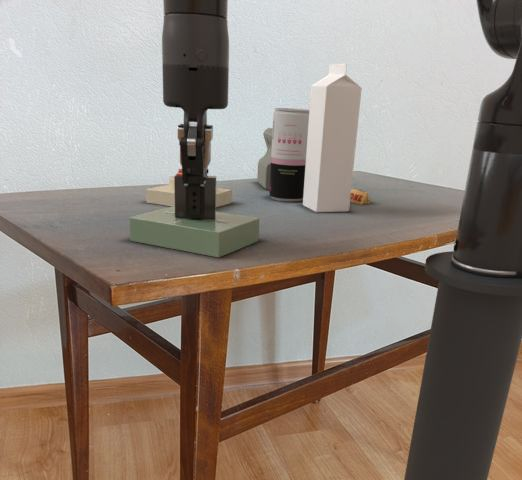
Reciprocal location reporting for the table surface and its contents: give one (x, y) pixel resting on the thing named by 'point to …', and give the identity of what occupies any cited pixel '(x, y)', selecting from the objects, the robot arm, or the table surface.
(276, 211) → the table surface
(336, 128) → the milk
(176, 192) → the dark grey square slab
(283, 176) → the beverage can
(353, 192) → the chocolate bar
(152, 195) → the base
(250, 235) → the green flat block
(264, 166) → the grey irregular figure
